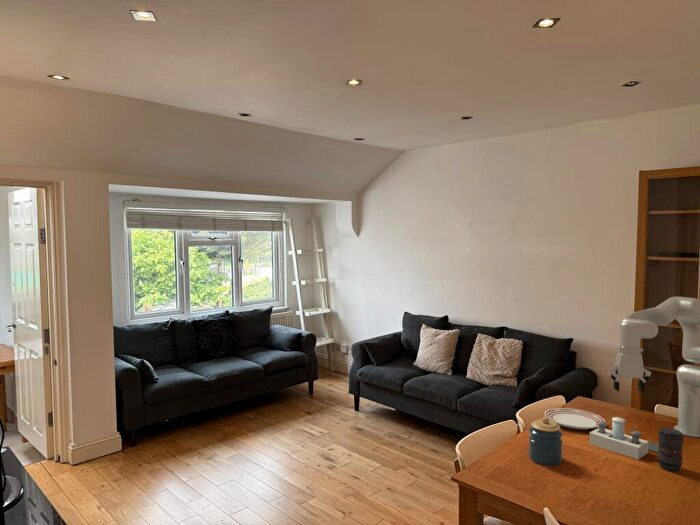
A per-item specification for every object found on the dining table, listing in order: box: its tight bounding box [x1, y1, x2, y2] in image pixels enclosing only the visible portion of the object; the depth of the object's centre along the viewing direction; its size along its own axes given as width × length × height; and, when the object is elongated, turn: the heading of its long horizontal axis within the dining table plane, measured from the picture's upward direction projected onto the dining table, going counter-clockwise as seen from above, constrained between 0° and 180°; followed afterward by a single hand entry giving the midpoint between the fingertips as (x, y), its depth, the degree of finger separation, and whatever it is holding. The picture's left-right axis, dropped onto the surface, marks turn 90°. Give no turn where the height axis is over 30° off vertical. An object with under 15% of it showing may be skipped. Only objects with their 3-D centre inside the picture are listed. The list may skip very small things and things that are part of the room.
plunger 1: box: [597, 421, 608, 434], centre depth 216 cm, size 4×4×6 cm
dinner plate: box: [544, 407, 606, 430], centre depth 240 cm, size 28×27×3 cm
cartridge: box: [611, 416, 626, 441], centre depth 210 cm, size 5×5×13 cm
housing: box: [588, 427, 649, 460], centre depth 210 cm, size 20×10×5 cm, turn 37°
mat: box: [644, 439, 659, 454], centre depth 211 cm, size 9×9×1 cm
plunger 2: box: [629, 430, 642, 444], centre depth 204 cm, size 4×4×6 cm
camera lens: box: [657, 427, 684, 473], centre depth 191 cm, size 8×8×15 cm
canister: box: [528, 416, 564, 466], centre depth 200 cm, size 13×13×18 cm
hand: (628, 390), depth 205 cm, fingers open, 9 cm apart
